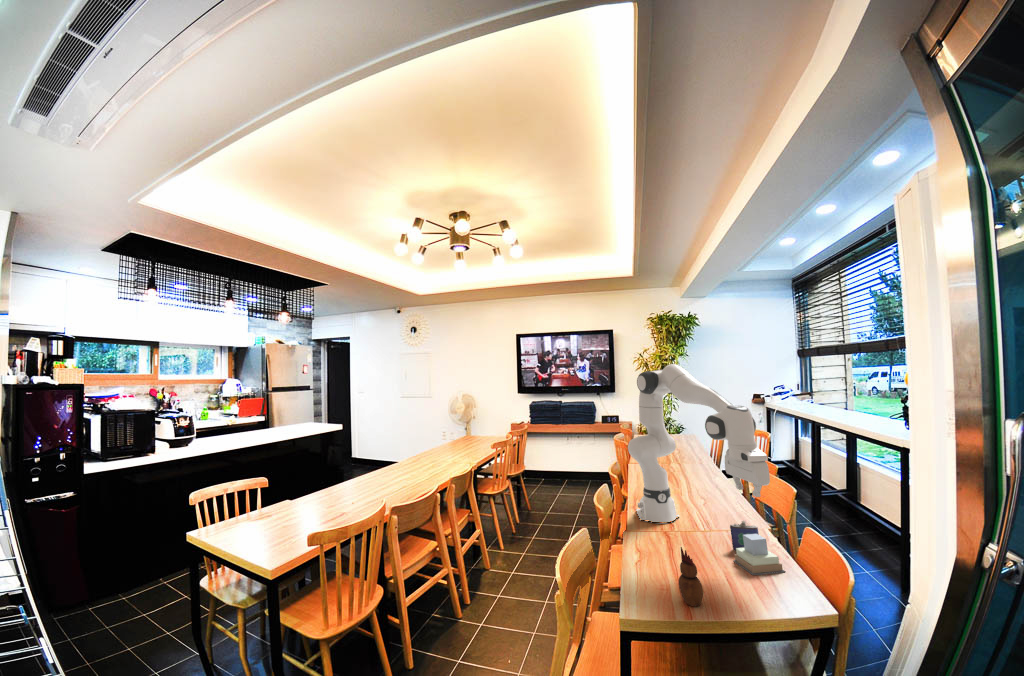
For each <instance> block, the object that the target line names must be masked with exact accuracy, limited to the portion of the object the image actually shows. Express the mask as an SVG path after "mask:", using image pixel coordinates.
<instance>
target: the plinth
mask: <svg viewBox="0 0 1024 676" xmlns="http://www.w3.org/2000/svg"><path fill="white" fill-rule="evenodd" d="M735 552H736V554H735V553H734V560H735V561H737V562H738V563H740V564H741V565H742V566H744V567H745V568H747V569H748V570H750V571H751V572H752V573H761V572H772V571H783V570H784V569H783V563H781V562H780V558H779V556H778V555H777V554H775V553H773V551H772V552H771V551H770V550H768V555H757V556H753V555H752V554H750V553H749V552H747V551H746V550H745V549H744V548H736V551H735Z"/></svg>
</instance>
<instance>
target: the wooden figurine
mask: <svg viewBox="0 0 1024 676" xmlns="http://www.w3.org/2000/svg"><path fill="white" fill-rule="evenodd" d="M680 557H681V559H680V560H681V562H680V564H679V570H680V571H679V572H680V573H681V574H680V575H679V577H678V589H679V592H680V596H681V598H682V600H683V602H684V603H685V604H687V605H688V606H690V607H699V606H700V605H701V604H702V603H703V599H704V588H703V585H702V582H701V581H700V579H699V578H698V569H697V565H696V564H695V562H694V561H693V558H691V556H690V554H688V552H687V550H686V549H685V550H683V547H682V546H680Z"/></svg>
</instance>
